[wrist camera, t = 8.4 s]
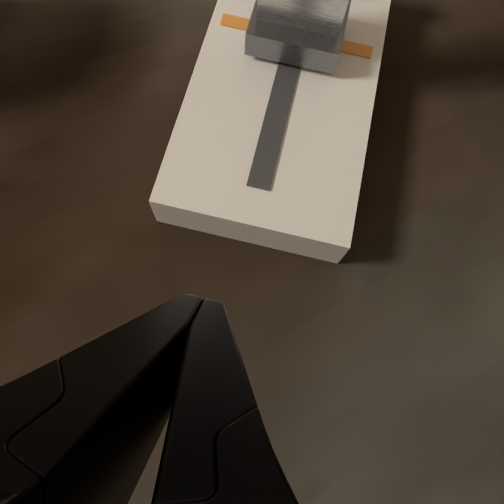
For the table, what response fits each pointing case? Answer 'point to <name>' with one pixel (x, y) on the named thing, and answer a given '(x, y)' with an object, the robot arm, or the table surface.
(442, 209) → the table surface
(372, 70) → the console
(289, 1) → the fader
